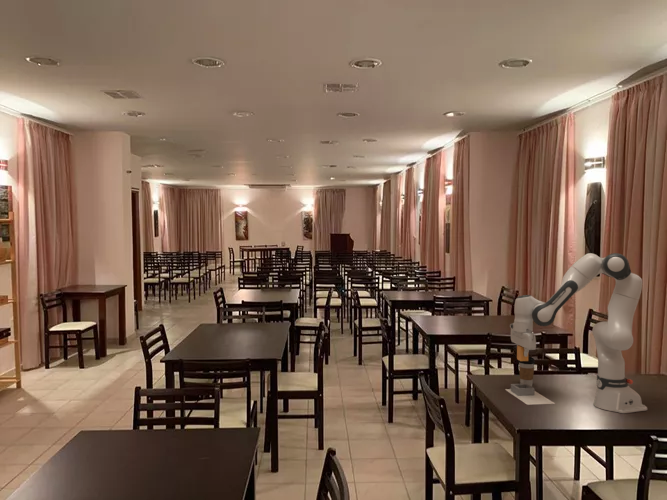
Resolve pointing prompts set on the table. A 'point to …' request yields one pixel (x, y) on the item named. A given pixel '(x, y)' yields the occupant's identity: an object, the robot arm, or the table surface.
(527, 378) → the coffee cup
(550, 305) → the robot arm
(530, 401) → the white board with socket
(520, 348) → the plug
